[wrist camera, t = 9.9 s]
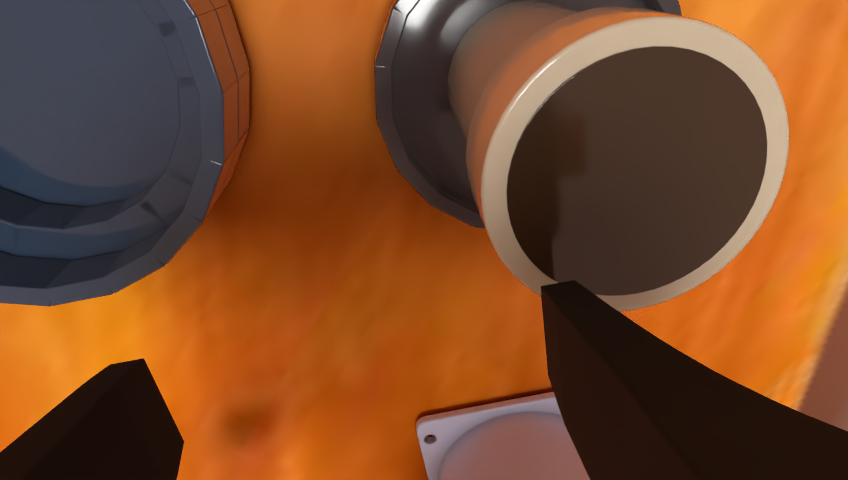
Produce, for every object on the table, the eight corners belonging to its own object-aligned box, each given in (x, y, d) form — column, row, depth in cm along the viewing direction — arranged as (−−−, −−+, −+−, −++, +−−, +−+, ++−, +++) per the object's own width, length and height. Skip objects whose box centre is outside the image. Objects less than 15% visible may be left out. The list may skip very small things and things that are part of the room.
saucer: (665, 185, 21) (684, 201, 20) (404, 236, 21) (406, 256, 20) (668, -116, 17) (693, -122, 15) (342, -50, 17) (338, -51, 16)
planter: (296, 207, 20) (279, 262, 17) (-29, 271, 20) (-114, 339, 17) (173, -199, 15) (110, -244, 12) (-262, -109, 15) (-457, -127, 12)
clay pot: (612, 148, 20) (777, 285, 12) (450, 180, 20) (501, 338, 12) (606, -32, 17) (811, -16, 9) (420, 5, 17) (459, 54, 9)
